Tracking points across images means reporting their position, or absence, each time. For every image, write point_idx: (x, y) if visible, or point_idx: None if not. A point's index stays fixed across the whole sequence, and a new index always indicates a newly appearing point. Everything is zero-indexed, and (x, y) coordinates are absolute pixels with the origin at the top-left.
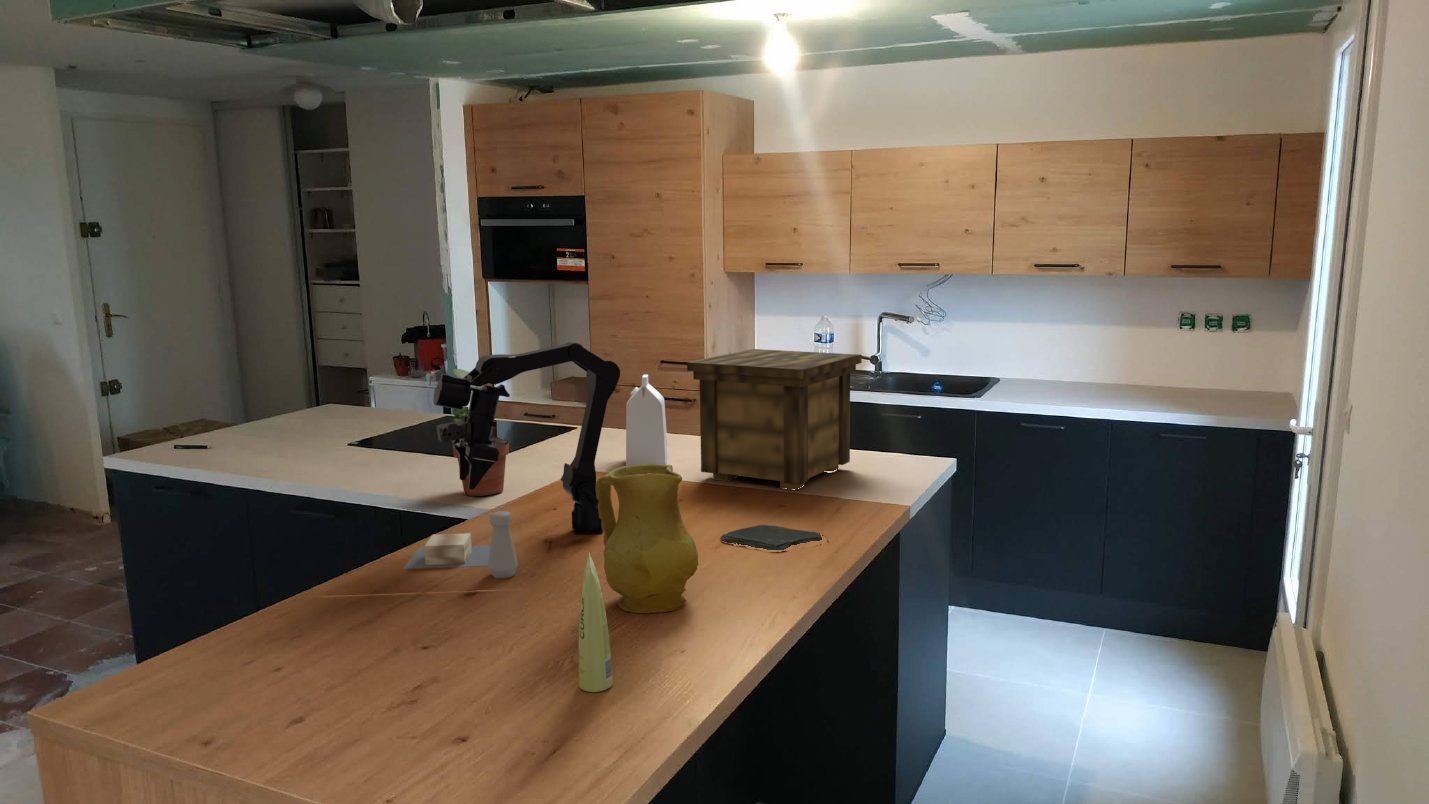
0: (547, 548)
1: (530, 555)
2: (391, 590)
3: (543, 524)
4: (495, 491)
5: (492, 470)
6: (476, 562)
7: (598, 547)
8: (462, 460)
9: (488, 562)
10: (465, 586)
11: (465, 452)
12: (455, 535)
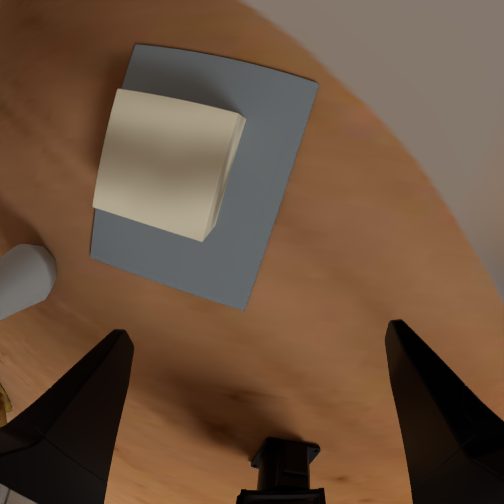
0: (191, 382)
1: (151, 343)
2: (34, 49)
3: (377, 405)
4: None
5: None
6: (118, 225)
7: (172, 439)
8: (439, 430)
9: (21, 248)
10: (12, 189)
11: (456, 495)
12: (195, 190)
